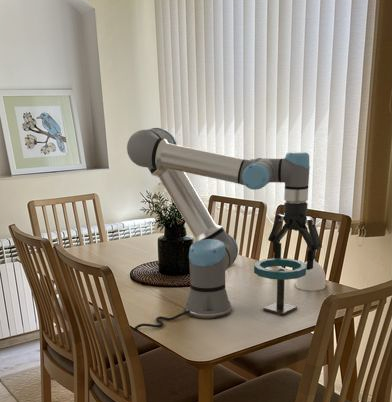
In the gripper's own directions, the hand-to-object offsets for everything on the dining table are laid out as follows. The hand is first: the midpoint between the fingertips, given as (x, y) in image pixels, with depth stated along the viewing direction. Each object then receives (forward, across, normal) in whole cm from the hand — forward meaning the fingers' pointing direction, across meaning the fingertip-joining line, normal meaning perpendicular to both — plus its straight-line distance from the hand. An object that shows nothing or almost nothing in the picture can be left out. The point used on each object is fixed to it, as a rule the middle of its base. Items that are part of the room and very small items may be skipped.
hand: (293, 265), depth 184 cm
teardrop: (+14, +6, -21) cm, 26 cm away
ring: (+1, 0, +8) cm, 8 cm away
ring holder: (+14, 0, +7) cm, 16 cm away
